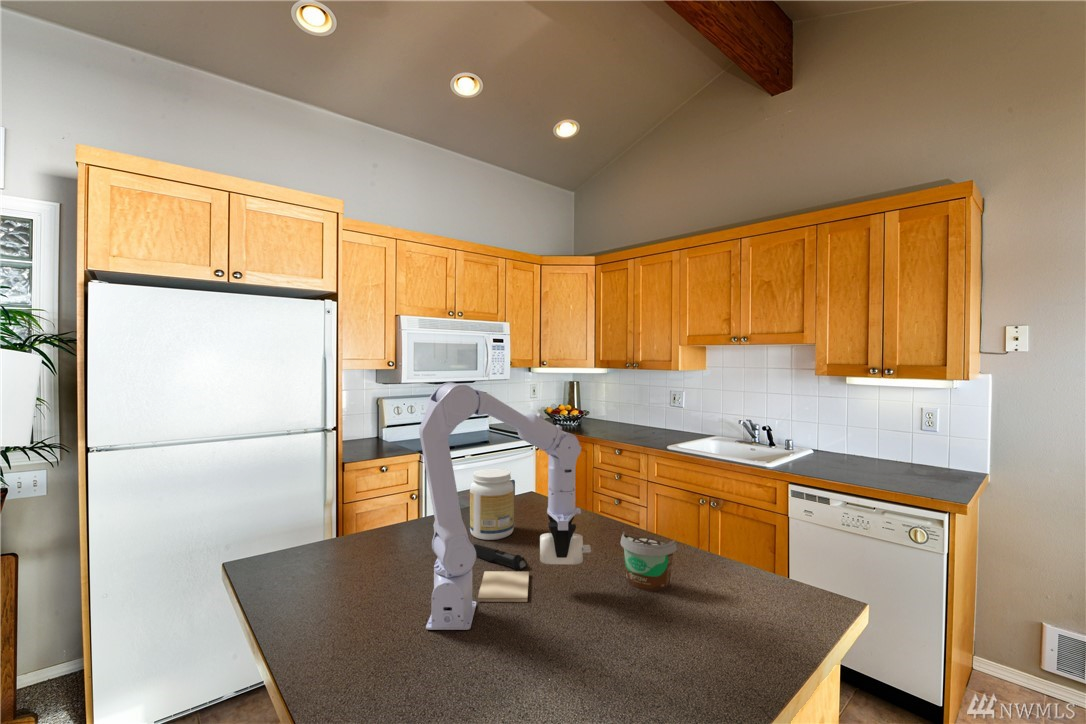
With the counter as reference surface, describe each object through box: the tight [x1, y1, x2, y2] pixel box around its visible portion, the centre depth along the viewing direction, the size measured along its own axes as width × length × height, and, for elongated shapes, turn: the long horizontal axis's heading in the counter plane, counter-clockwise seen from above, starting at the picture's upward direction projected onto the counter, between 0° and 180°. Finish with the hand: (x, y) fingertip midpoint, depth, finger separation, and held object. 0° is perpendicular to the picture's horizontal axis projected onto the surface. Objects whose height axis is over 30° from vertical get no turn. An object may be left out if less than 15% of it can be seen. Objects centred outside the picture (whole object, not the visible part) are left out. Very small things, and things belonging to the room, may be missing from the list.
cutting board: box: [477, 570, 530, 603], centre depth 104 cm, size 12×10×1 cm
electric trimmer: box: [472, 543, 529, 571], centre depth 118 cm, size 4×16×3 cm, turn 55°
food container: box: [620, 531, 678, 592], centre depth 105 cm, size 12×6×10 cm, turn 62°
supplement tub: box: [469, 468, 515, 541], centre depth 136 cm, size 12×12×17 cm
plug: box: [539, 532, 592, 565], centre depth 103 cm, size 11×4×5 cm, turn 90°
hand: (561, 552), depth 103 cm, fingers closed on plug, 4 cm apart
